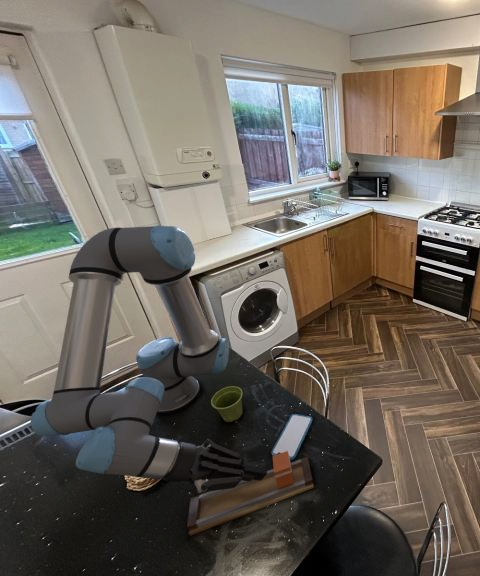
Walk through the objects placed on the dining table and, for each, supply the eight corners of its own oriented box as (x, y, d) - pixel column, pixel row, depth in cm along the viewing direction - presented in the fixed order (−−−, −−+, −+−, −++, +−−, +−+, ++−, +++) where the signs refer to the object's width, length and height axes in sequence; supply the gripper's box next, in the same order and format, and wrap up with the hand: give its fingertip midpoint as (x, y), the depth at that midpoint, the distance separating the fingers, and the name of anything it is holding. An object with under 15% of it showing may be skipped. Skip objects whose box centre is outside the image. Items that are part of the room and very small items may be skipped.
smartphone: (313, 417, 104) (293, 458, 91) (313, 419, 105) (294, 461, 92) (292, 413, 105) (270, 453, 92) (292, 415, 106) (270, 456, 93)
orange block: (277, 475, 87) (271, 455, 83) (292, 469, 88) (288, 450, 84) (278, 492, 83) (273, 473, 79) (294, 486, 84) (290, 467, 80)
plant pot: (236, 429, 101) (230, 411, 97) (211, 423, 102) (204, 405, 98) (253, 406, 109) (248, 388, 105) (229, 401, 110) (223, 384, 106)
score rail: (194, 502, 82) (190, 496, 80) (308, 461, 92) (307, 455, 90) (190, 535, 75) (186, 529, 74) (313, 487, 85) (312, 481, 84)
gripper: (165, 446, 73) (253, 461, 87) (153, 501, 63) (256, 509, 77) (184, 424, 73) (270, 443, 86) (175, 476, 62) (275, 489, 76)
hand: (263, 474), depth 82 cm, fingers closed
